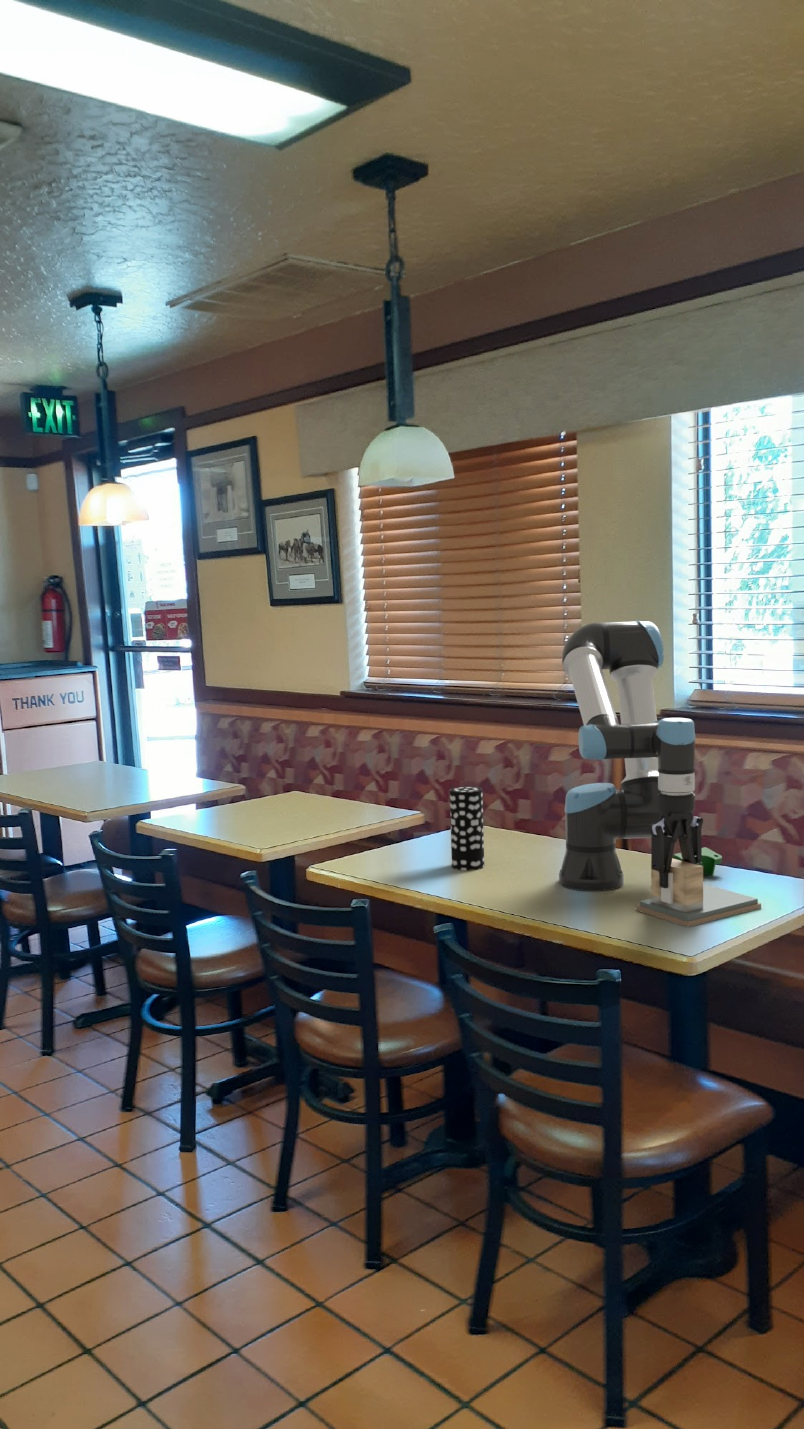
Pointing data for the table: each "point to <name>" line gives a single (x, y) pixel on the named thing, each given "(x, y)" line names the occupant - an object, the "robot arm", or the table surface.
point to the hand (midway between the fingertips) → (676, 899)
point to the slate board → (704, 907)
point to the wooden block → (681, 886)
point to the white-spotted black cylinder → (467, 828)
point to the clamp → (705, 860)
